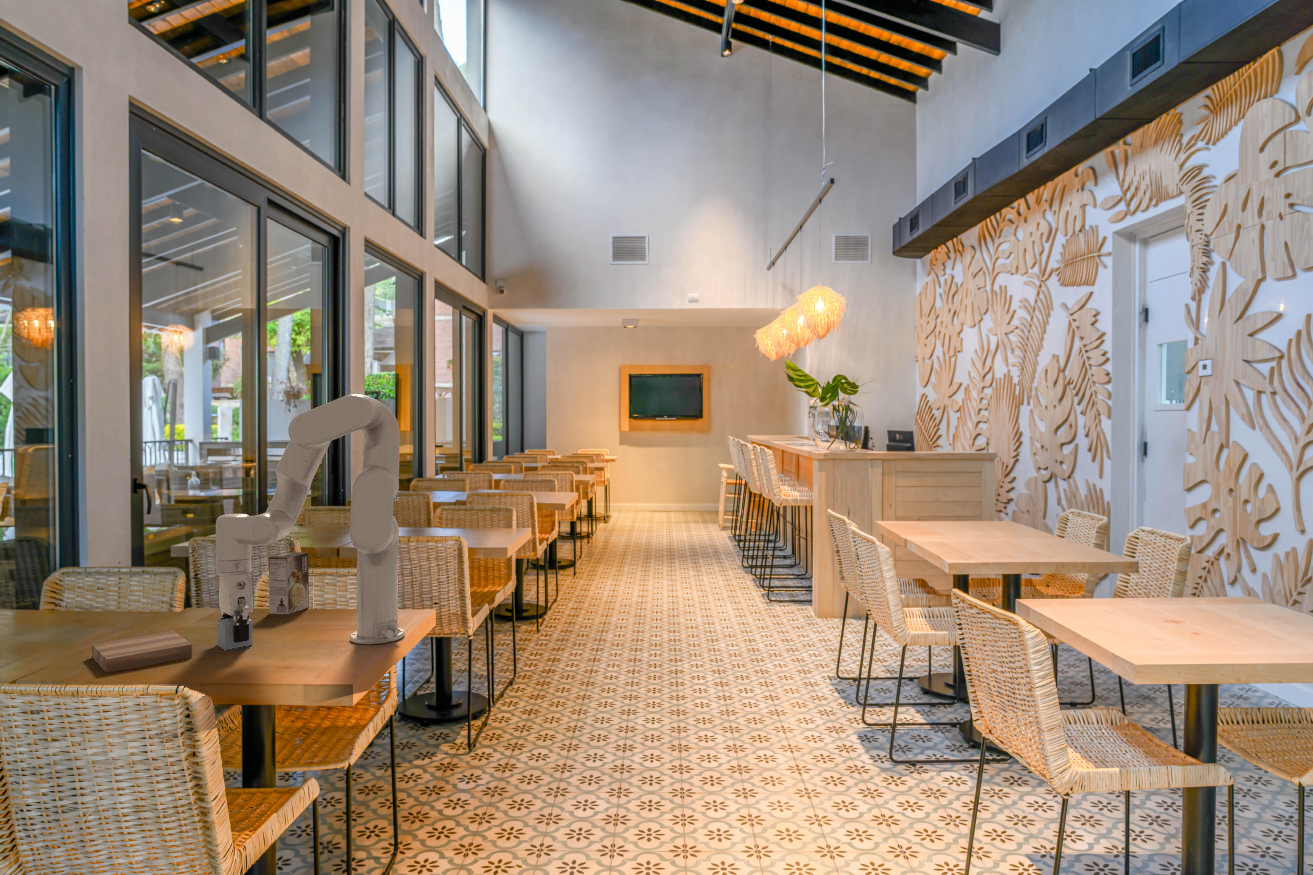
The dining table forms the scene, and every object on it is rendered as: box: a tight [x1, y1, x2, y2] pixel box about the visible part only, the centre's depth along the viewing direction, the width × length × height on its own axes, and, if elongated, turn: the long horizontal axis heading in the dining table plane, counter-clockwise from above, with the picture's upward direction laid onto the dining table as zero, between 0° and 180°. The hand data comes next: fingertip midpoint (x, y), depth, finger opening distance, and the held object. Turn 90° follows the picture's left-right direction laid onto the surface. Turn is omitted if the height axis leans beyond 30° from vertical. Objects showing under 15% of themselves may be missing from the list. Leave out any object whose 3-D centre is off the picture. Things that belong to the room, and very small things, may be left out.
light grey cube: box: [216, 616, 254, 651], centre depth 184 cm, size 6×6×6 cm
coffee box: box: [268, 551, 310, 615], centre depth 219 cm, size 9×6×16 cm
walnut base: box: [91, 630, 193, 673], centre depth 175 cm, size 16×16×3 cm
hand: (234, 637), depth 184 cm, fingers open, 9 cm apart
